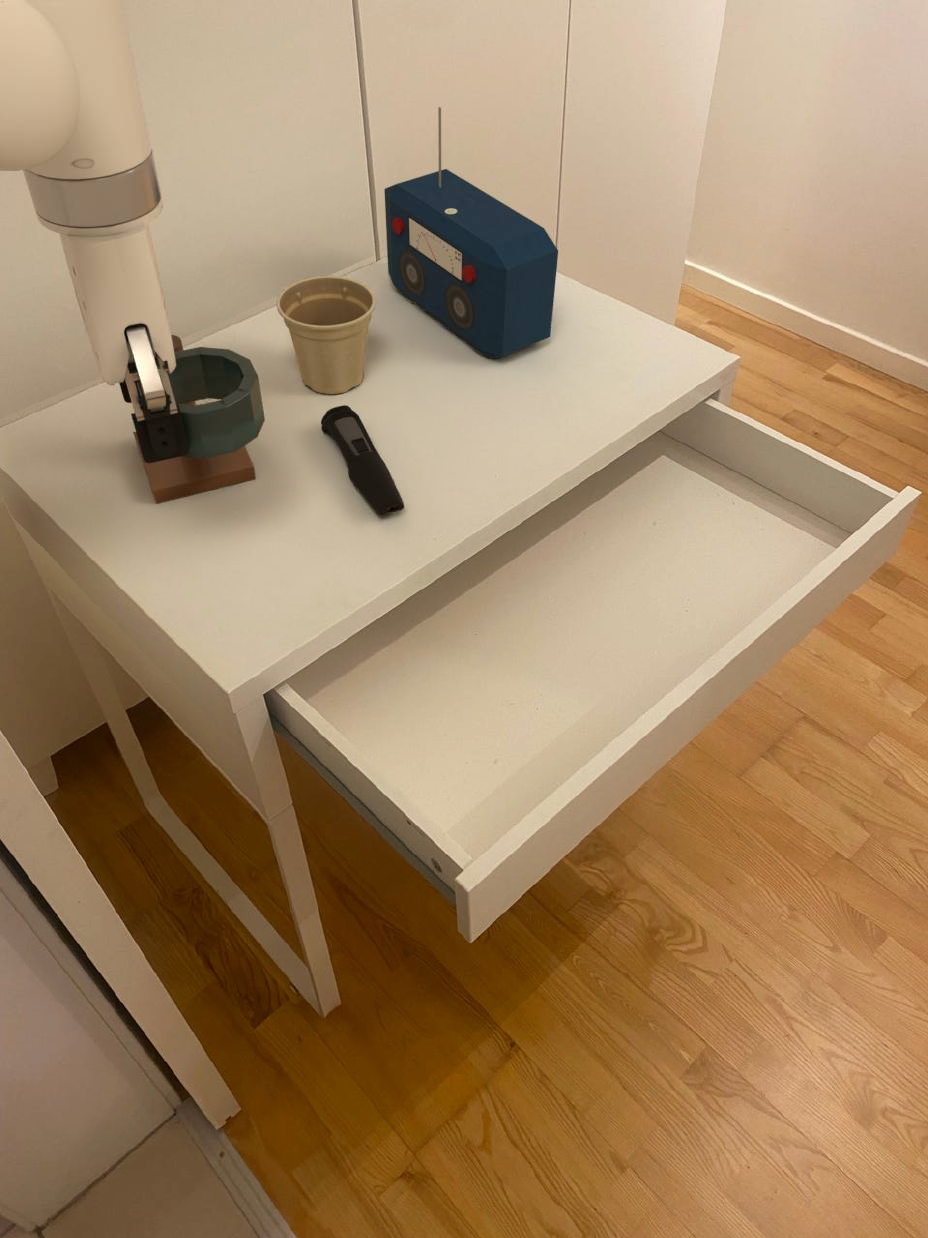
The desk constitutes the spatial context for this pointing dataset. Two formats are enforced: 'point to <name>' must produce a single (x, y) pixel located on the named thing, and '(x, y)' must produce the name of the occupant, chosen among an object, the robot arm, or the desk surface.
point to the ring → (222, 420)
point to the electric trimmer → (362, 460)
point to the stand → (195, 469)
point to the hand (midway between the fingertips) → (155, 424)
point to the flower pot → (328, 330)
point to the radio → (471, 261)
